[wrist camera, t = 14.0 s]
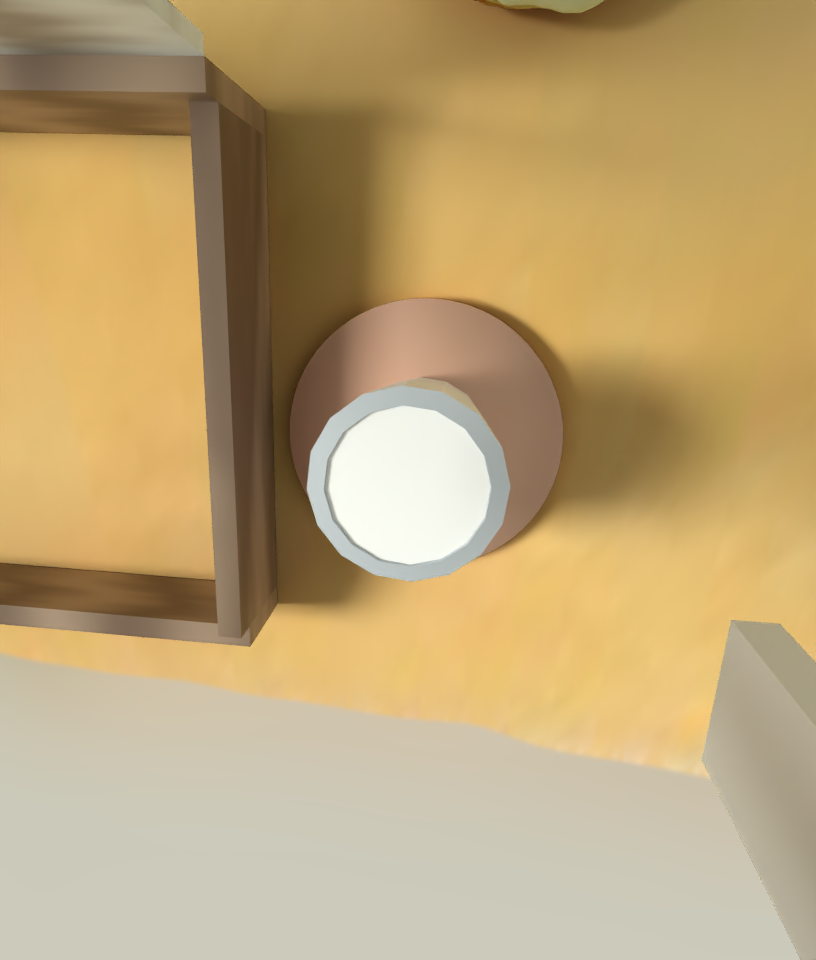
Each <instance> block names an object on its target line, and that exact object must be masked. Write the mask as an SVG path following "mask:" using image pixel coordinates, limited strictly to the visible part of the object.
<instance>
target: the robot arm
mask: <svg viewBox="0 0 816 960" xmlns="http://www.w3.org/2000/svg"><path fill="white" fill-rule="evenodd" d="M702 761H703V763H704V765H705V767H706V769H707V771H708V773H709V775H710V777H711V779H712V781H713V783H714V785H715V787H716V789H717V791H718V793H719V795H720V798H721V799H722V802H723V804H724V806H725V808H726V810H727V812H728V814H729V816H730V818H731V820H732V822H733V824H734V826H735V828H736V830H737V832H738V834H739V836H740V838H741V840H742V842H743V844H744V846H745V848H746V850H747V852H748V854H749V856H750V858H751V860H752V862H753V864H754V866H755V868H756V870H757V872H758V874H759V876H760V879H761V880H762V883H763V885H764V886H765V889H766V891H767V893H768V895H769V897H770V899H771V901H772V903H773V905H774V907H775V909H776V911H777V913H778V915H779V917H780V919H781V921H782V923H783V925H784V927H785V929H786V931H787V933H788V935H789V937H790V939H791V941H792V943H793V945H794V947H795V949H796V951H797V953H798V956H799V958H800V960H816V662H815V661H814V660H813V659H812V658H811V657H810V656H809V655H808V654H807V652H806V651H805V650H804V649H803V648H802V647H801V646H800V645H799V644H798V643H797V642H796V641H795V639H794V638H793V637H792V636H791V635H790V634H789V633H788V632H787V631H786V630H785V629H784V628H783V627H782V625H781V624H775V623H762V622H749V621H736V620H731V623H730V628H729V633H728V638H727V642H726V647H725V652H724V657H723V661H722V666H721V671H720V676H719V680H718V685H717V690H716V695H715V699H714V704H713V709H712V714H711V718H710V723H709V728H708V733H707V738H706V742H705V747H704V752H703V757H702Z"/></svg>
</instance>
